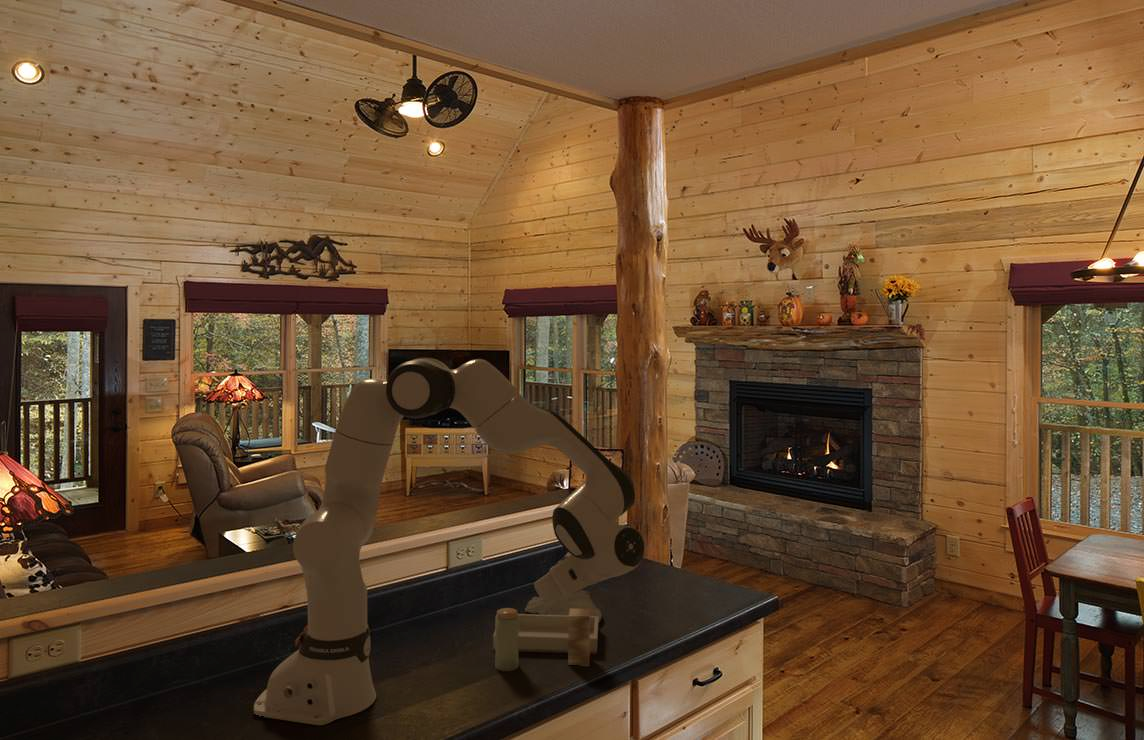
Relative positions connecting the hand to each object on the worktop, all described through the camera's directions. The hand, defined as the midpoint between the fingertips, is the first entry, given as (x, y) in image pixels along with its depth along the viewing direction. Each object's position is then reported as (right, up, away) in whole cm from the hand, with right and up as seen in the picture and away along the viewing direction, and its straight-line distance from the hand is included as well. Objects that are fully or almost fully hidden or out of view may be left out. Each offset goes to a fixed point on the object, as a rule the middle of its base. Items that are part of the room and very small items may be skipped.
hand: (563, 569), depth 162 cm
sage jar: (-12, -21, +1) cm, 24 cm away
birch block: (+3, -21, +4) cm, 22 cm away
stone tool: (+1, -20, +32) cm, 38 cm away
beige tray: (-4, -21, +15) cm, 26 cm away
